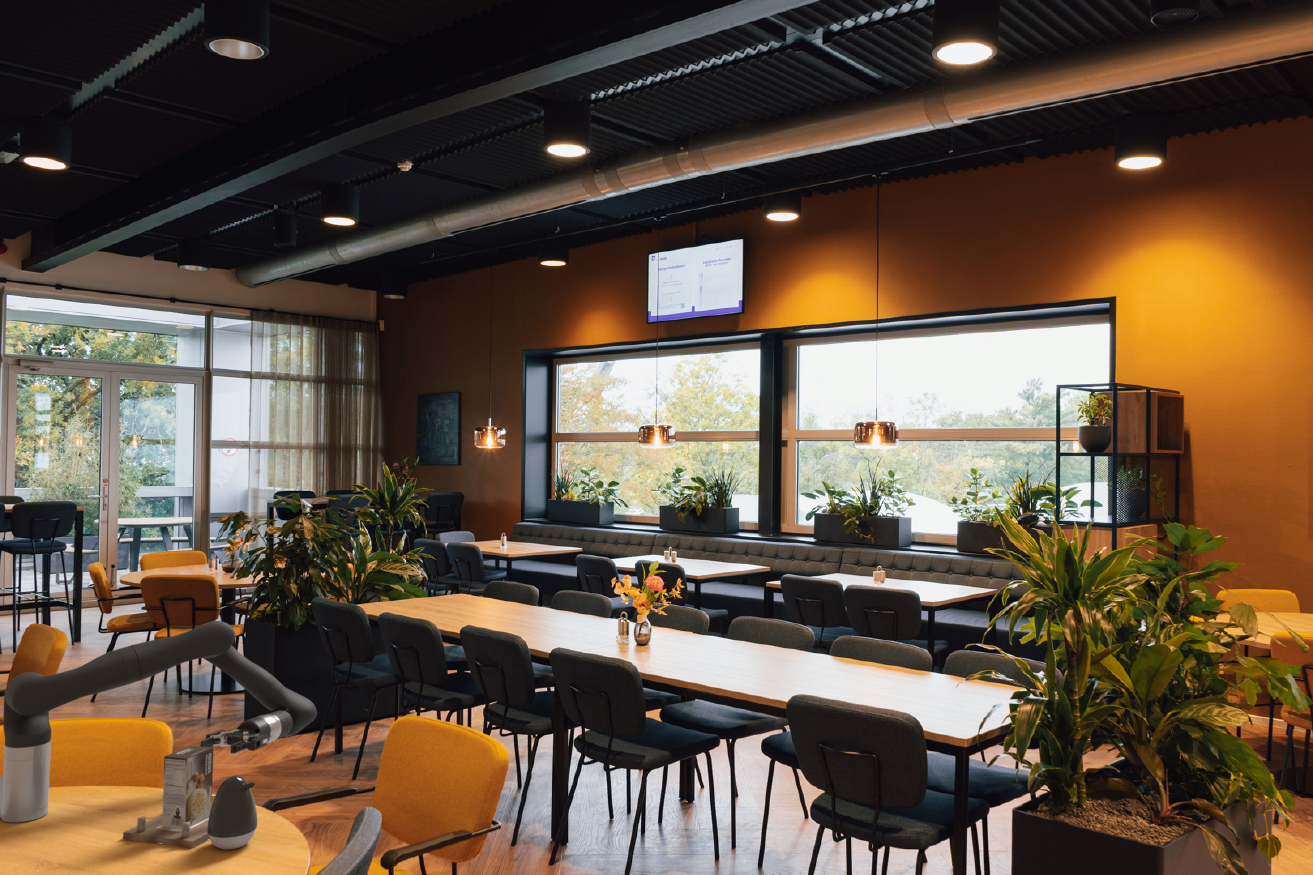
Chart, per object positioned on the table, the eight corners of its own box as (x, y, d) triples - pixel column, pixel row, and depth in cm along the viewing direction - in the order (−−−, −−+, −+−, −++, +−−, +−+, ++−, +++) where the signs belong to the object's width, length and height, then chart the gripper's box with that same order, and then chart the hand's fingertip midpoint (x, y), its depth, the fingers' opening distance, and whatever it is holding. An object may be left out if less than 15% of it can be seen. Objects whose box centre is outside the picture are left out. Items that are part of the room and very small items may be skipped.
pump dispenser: (236, 856, 207) (239, 785, 208) (195, 850, 210) (198, 780, 211) (267, 839, 217) (269, 771, 218) (228, 833, 220) (230, 766, 221)
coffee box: (188, 813, 228) (191, 744, 228) (212, 815, 226) (215, 746, 227) (160, 827, 219) (163, 755, 219) (185, 830, 217) (188, 758, 218)
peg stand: (123, 838, 216) (123, 818, 216) (180, 811, 233) (180, 792, 233) (192, 848, 212) (193, 827, 212) (245, 819, 229) (246, 800, 229)
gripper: (236, 714, 252) (192, 728, 236) (284, 719, 249) (243, 734, 233) (234, 743, 252) (190, 760, 236) (282, 748, 248) (241, 766, 233)
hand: (216, 747), depth 234 cm, fingers open, 8 cm apart
